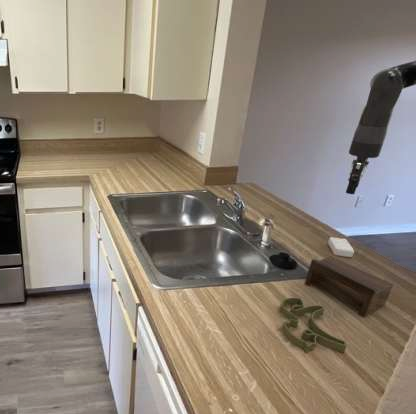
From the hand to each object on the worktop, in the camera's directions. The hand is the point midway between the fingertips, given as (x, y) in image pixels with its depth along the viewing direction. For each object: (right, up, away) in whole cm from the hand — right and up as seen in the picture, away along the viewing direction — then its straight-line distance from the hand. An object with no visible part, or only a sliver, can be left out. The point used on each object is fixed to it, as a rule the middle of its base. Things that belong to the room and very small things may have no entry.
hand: (351, 190), depth 107 cm
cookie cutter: (-30, -36, -24) cm, 53 cm away
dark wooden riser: (-12, -31, -12) cm, 35 cm away
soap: (+3, -21, +10) cm, 23 cm away
